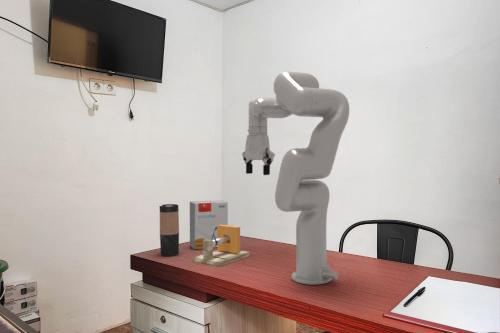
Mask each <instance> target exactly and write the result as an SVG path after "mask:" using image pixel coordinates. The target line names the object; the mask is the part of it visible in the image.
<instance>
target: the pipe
mask: <svg viewBox="0 0 500 333" xmlns="http://www.w3.org/2000/svg"><path fill="white" fill-rule="evenodd" d="M226 242H230V235H228V236H225V237H221V238H217V239H213V246H217V245H219V244H223V243H226Z"/></svg>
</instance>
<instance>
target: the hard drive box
mask: <svg viewBox="0 0 500 333" xmlns="http://www.w3.org/2000/svg"><path fill="white" fill-rule="evenodd" d="M228 202H229V201H227V200H221V199H220V200H219V199H217V200H200V201H199V200H198V201H196V200H195V201H189V247H191V248H192V249H193V250H203V240H206V239H207V240H213V239H217V225H229V224H228V223H229V221H228V220H229V218H228V217H229V216H228V213H229V212H228V211H229V209H228V208H229V207H228V206H229V204H228ZM227 236H229V235H227ZM215 248H216V249H217V248H218V245H217V246H213V249H215Z"/></svg>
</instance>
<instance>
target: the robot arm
mask: <svg viewBox="0 0 500 333" xmlns="http://www.w3.org/2000/svg"><path fill="white" fill-rule="evenodd" d="M319 83H320V82H319V80H318V79H317V78H316V76H314V75H313V74H310V73H307V72H299V71H298V72H297V71H282V72H279V73H278V75H277V76H276V77H275V80H274V81H273V92H274V94H275V98H274V97H273V98H272V97H258V98H256V99H254V100H251V101H249V103H248V129H247V132H248V135H246V139H245V148H244V149H245V150H244V151H243V152H242V153H241V156H242V158H243V159H242V160H243V161H244V164H245V174H247V175H248V174H249V175H251V174H254V173H253V168H254V167H253V161H261V160H262V162H263V166H262V169H263V170H262V172H263V174H262V175H263V176H268V175H269V176H270V174H271V165H272V163H273V161H274V158H275V155H276V154H275V153H274V152H272V151H271V148H270V145H271V144H270V139H269V138H270V137H269V134H268V119H285V118H288V117H290V116H292V115H294V116H297V117H302V118H303V117H305V118H307V117H309V118H322V120H321V121H320V122H319V123H318V124H317V125H316V126H315V128H314V129H313V130H312V132H311V136H310V139H309V140H310V141H309V143H308V146H307V147H303V148H302V147H300V148H299V147H298V148H291V149H289V150H288V151H286V152H285V154H284V155H283V157H282V160H281V163H280V168H279V172H278V177H277V182H276V187H275V193H274V199H275V205H276V208H278V209H279V210H280V211H282V212H287V213H288V212H289V213H290V212H291V213H292V212H293V213H294V212H299V215H298V217H297V219H296V224H295V240H296V241H295V244H296V246H295V250H296V252H295V253H296V257H295V258H296V268H295V269H296V271H293V272H292V274H291V280H293V281H294V282H296V283H299V284H304V285H311V286H312V285H314V286H315V285H318V286H319V285H323V284H327V283H330V282H331V281H332V279H335V280H338V278H339V272H338V271H337V270H332V269H331V268H330V266H331V265H330V264H328V263H327V215H328V208H329V202H330V189H329V187H328V185H327V184H326V183H325V182H324V181H321V180H322V179H325V178H328V177H329V176H330V175H331V172H332V169H333V166H334V163H335V160H336V155H337V153H338V148H339V145H340V142H341V137H342V135H343V132H344V130H345V128H346V127H347V124H348V121H349V117H350V103H349V100H348V98H347V97H346V95H345V94H344V93H342V92H341V91H338V90H335V89H330V88H320V84H319ZM320 179H321V180H320Z"/></svg>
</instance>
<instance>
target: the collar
mask: <svg viewBox="0 0 500 333" xmlns="http://www.w3.org/2000/svg"><path fill="white" fill-rule="evenodd" d="M227 235H228V236H229V235H230V242H226V243H223V244H219V245H218V247H217V250H220V251H226V252H231V253H240V251H241V226H236V225H235V226H233V225H229V224H228V225H217V238H221V237H225V236H227Z"/></svg>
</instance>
